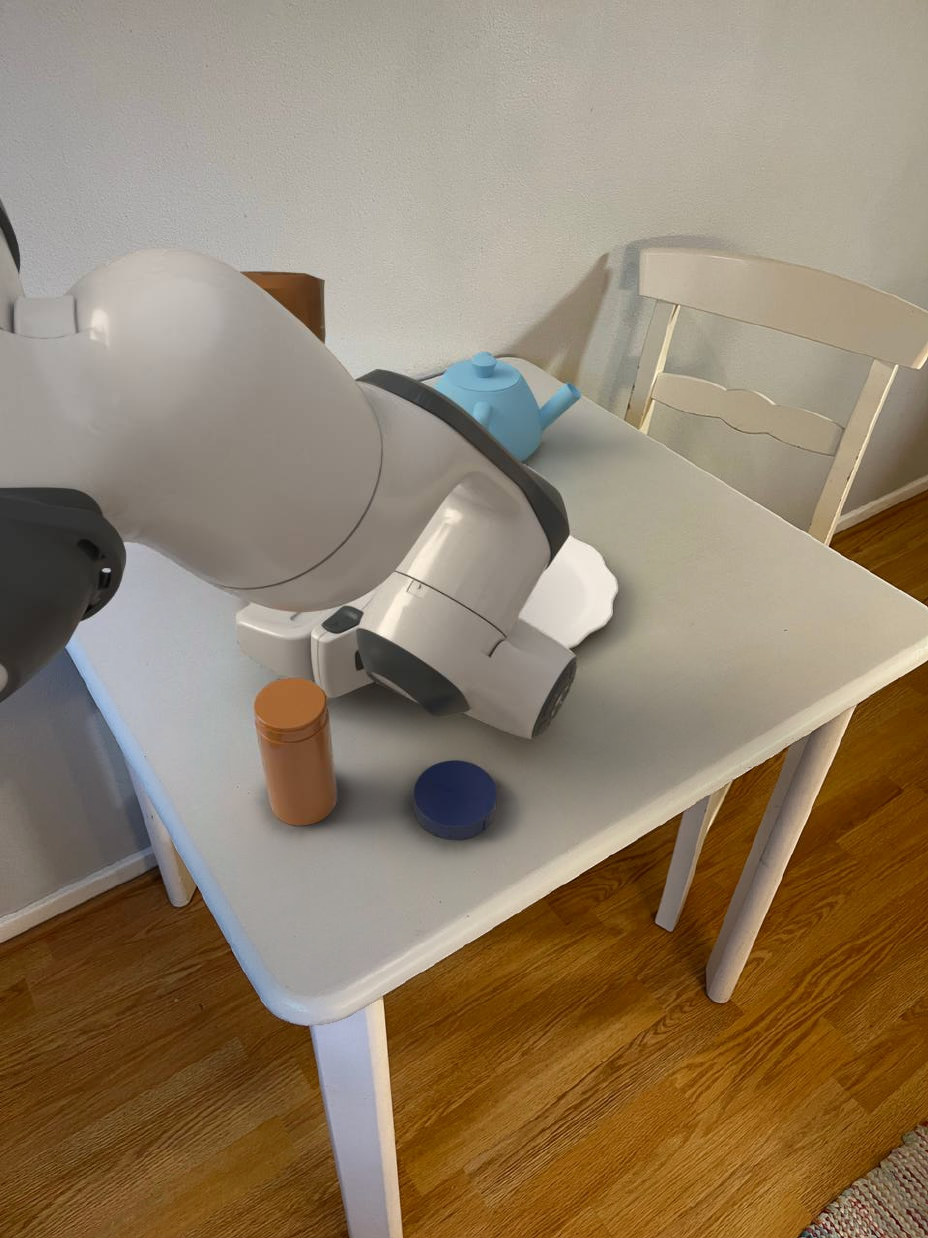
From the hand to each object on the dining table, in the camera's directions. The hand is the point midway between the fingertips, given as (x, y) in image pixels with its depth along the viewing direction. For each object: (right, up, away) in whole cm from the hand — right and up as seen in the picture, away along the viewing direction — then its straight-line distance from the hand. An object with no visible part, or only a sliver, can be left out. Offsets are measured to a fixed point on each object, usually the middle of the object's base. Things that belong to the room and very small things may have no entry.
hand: (279, 554), depth 81 cm
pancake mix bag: (-5, +2, +12) cm, 13 cm away
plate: (+21, -4, +6) cm, 22 cm away
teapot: (+19, +15, +27) cm, 36 cm away
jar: (+5, -19, -13) cm, 24 cm away
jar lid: (+16, -19, -14) cm, 29 cm away
